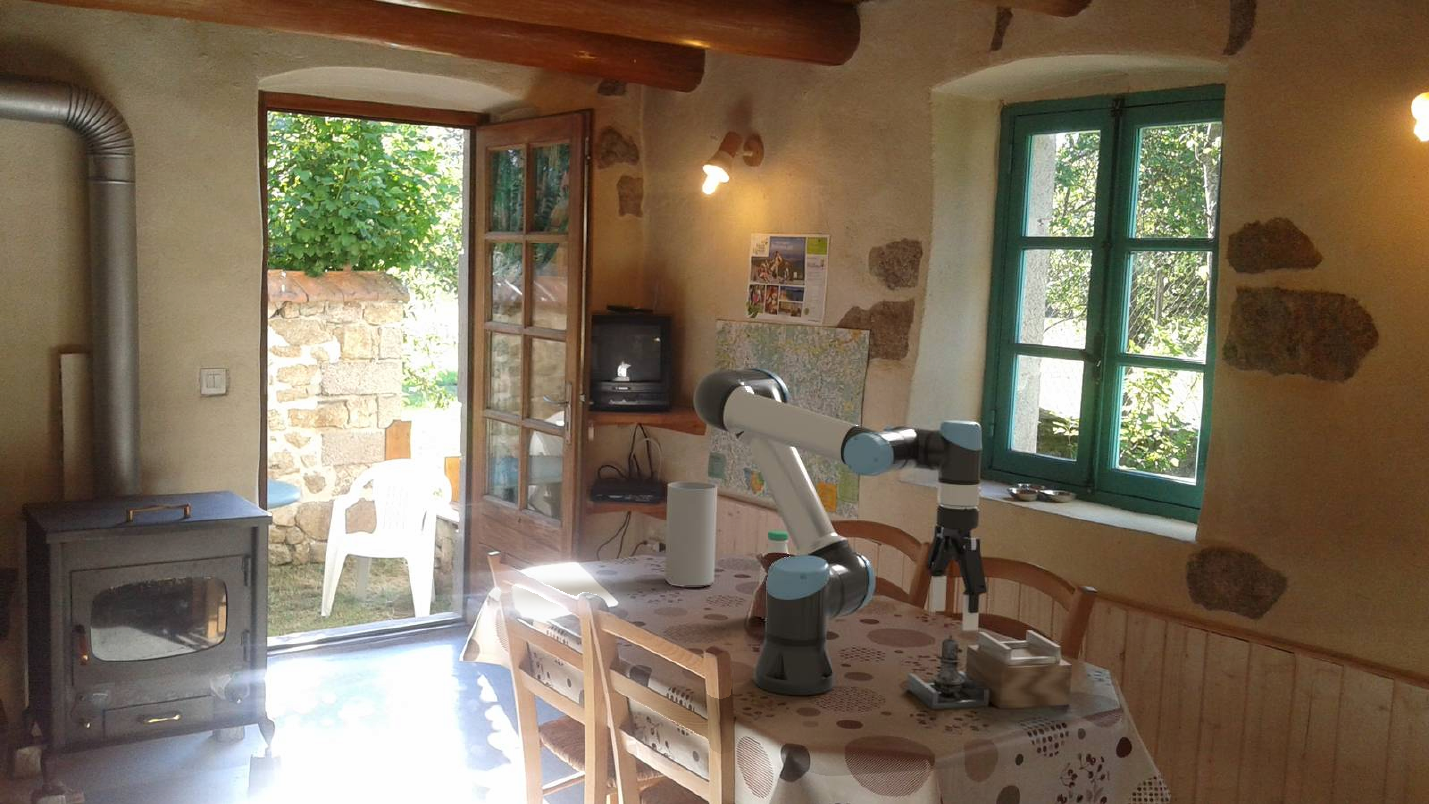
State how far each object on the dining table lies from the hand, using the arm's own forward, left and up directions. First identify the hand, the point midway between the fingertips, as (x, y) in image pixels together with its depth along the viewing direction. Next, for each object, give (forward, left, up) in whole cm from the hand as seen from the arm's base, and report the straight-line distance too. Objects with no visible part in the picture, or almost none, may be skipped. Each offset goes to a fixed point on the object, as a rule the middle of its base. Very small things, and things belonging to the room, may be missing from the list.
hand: (953, 620), depth 219 cm
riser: (+14, 0, -15) cm, 20 cm away
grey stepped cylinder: (0, 0, -15) cm, 15 cm away
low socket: (0, 0, -15) cm, 15 cm away
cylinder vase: (-28, +92, -15) cm, 98 cm away
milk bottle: (-16, +57, -15) cm, 61 cm away
